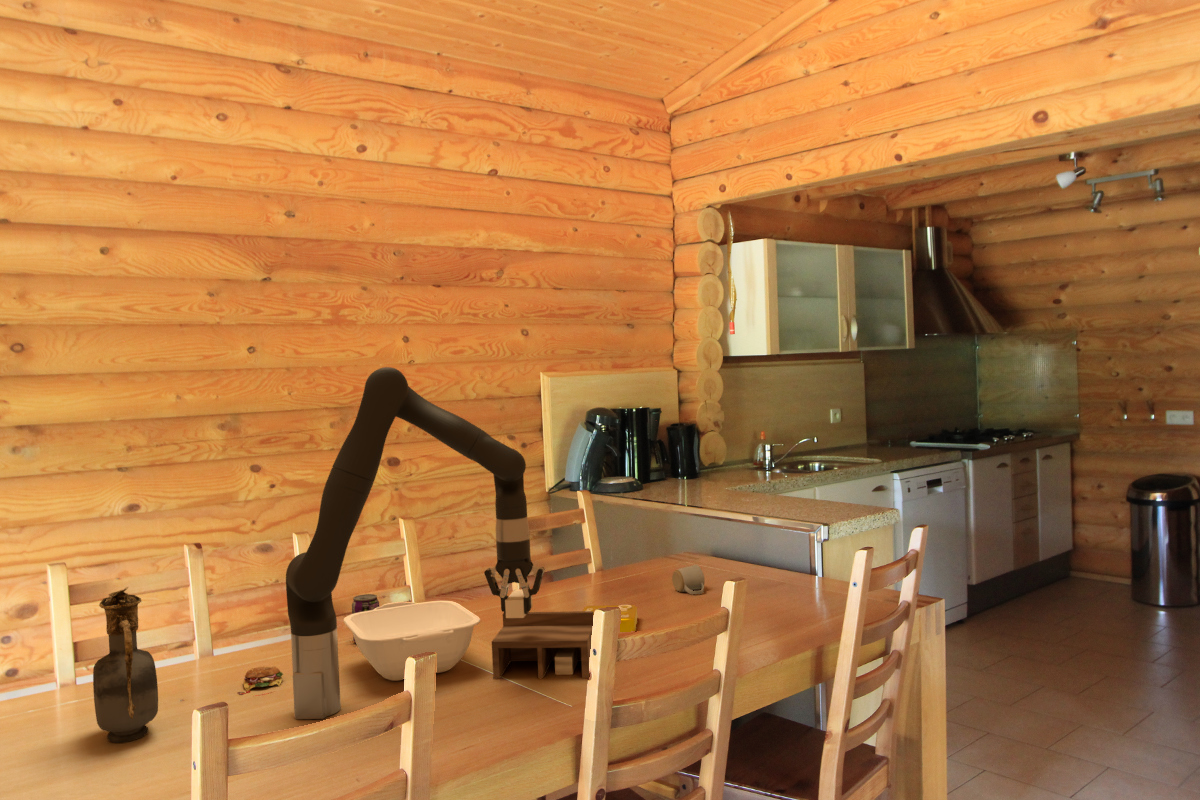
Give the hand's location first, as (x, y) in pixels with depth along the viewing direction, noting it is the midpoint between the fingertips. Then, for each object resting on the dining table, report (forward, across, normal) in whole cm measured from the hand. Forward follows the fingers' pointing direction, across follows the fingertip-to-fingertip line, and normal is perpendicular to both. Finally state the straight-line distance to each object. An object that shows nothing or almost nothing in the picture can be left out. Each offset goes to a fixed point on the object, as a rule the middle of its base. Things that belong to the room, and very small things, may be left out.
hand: (516, 612), depth 201 cm
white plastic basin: (+16, -28, +8) cm, 33 cm away
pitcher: (+15, -72, -34) cm, 81 cm away
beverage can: (+16, -48, +31) cm, 60 cm away
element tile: (+17, +15, +44) cm, 50 cm away
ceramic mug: (+17, +36, +83) cm, 92 cm away
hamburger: (+16, -61, -4) cm, 63 cm away
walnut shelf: (+16, +4, +9) cm, 19 cm away
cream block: (+1, 0, +3) cm, 3 cm away
